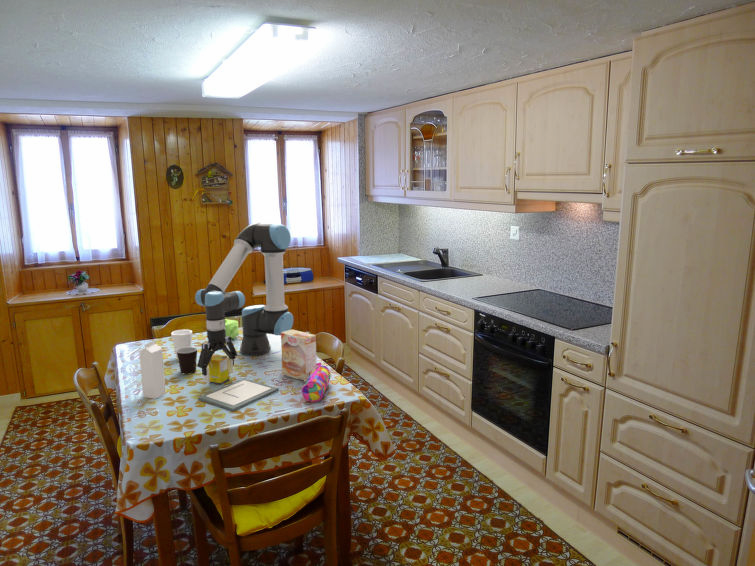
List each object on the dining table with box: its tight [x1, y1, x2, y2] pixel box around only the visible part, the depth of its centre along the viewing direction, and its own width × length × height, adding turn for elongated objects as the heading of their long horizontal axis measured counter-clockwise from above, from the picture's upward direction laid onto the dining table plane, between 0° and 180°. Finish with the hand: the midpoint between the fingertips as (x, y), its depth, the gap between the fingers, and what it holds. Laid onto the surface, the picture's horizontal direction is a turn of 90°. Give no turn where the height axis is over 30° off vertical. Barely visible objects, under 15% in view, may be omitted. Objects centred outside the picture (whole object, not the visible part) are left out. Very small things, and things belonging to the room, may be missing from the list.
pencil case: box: [301, 362, 331, 403], centre depth 212 cm, size 22×9×9 cm, turn 179°
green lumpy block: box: [225, 318, 240, 340], centre depth 284 cm, size 15×14×11 cm
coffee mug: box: [177, 346, 198, 375], centre depth 237 cm, size 12×9×10 cm
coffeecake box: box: [280, 328, 317, 382], centre depth 229 cm, size 15×7×20 cm, turn 53°
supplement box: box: [207, 354, 230, 386], centre depth 224 cm, size 6×6×11 cm
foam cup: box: [170, 329, 193, 360], centre depth 253 cm, size 10×9×13 cm
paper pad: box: [197, 378, 280, 412], centre depth 211 cm, size 24×20×1 cm
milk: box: [139, 340, 167, 400], centre depth 208 cm, size 6×6×22 cm
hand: (219, 377), depth 224 cm, fingers open, 12 cm apart
